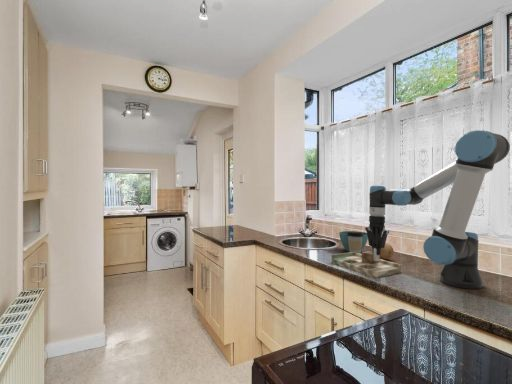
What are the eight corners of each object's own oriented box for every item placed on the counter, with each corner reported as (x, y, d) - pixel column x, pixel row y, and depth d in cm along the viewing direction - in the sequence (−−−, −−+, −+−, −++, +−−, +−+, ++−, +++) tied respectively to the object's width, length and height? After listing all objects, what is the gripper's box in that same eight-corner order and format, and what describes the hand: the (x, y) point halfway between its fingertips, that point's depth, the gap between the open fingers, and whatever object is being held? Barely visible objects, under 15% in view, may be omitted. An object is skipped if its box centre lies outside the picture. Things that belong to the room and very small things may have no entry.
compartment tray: (400, 272, 135) (400, 263, 135) (376, 277, 127) (376, 268, 127) (354, 259, 161) (354, 251, 161) (331, 262, 152) (331, 254, 152)
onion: (385, 262, 154) (385, 244, 154) (371, 258, 163) (371, 241, 163) (397, 261, 157) (398, 243, 157) (383, 257, 167) (384, 240, 167)
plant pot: (333, 250, 183) (333, 232, 183) (349, 247, 194) (349, 230, 194) (358, 255, 169) (358, 236, 169) (373, 251, 180) (373, 233, 180)
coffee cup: (364, 259, 161) (364, 233, 161) (347, 258, 163) (348, 233, 163) (361, 255, 171) (361, 231, 170) (345, 254, 172) (346, 230, 172)
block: (378, 262, 144) (378, 253, 144) (371, 264, 141) (371, 254, 141) (369, 260, 149) (369, 251, 149) (361, 261, 146) (361, 252, 146)
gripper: (361, 214, 145) (361, 258, 146) (383, 216, 134) (382, 264, 134) (371, 213, 149) (370, 257, 149) (393, 216, 137) (392, 262, 138)
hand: (376, 260), depth 142 cm, fingers closed
